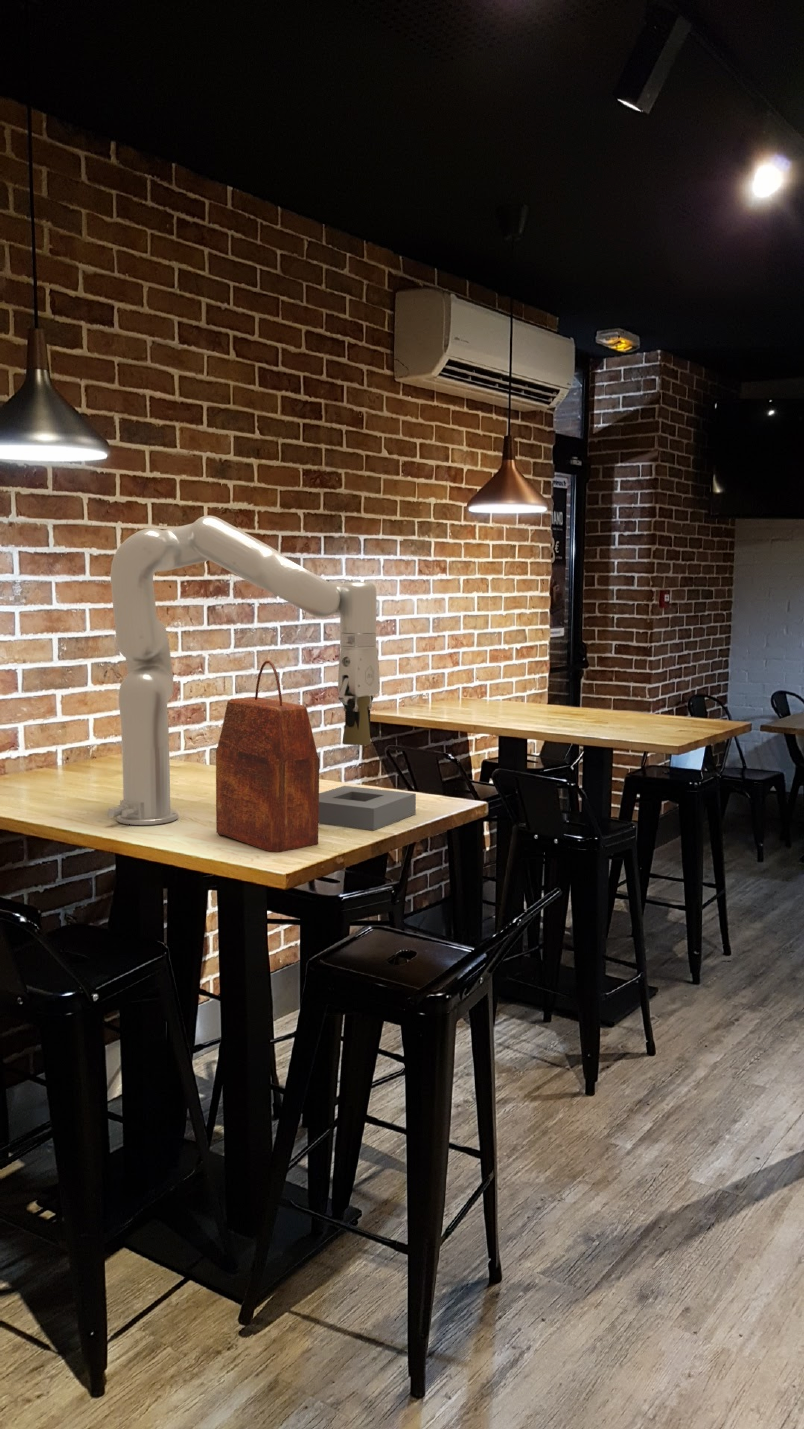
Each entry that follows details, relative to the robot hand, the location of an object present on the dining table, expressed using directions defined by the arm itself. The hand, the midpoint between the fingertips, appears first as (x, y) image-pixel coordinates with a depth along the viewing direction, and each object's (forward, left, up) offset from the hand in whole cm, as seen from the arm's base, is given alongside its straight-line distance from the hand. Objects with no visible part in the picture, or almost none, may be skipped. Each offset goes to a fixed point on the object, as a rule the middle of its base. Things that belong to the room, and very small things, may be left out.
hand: (357, 728), depth 222 cm
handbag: (-26, +5, -19) cm, 33 cm away
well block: (0, 0, -19) cm, 19 cm away
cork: (0, 0, -3) cm, 3 cm away
